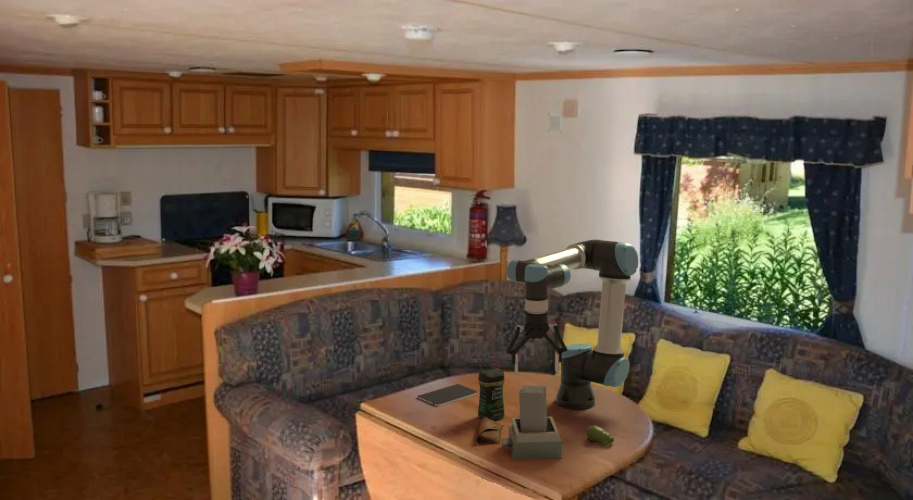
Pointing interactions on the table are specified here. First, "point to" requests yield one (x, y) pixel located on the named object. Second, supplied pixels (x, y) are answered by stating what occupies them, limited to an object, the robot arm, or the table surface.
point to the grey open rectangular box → (534, 442)
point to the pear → (599, 435)
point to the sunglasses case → (489, 432)
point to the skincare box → (533, 409)
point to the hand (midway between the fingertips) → (536, 372)
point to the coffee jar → (491, 394)
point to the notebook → (447, 395)
